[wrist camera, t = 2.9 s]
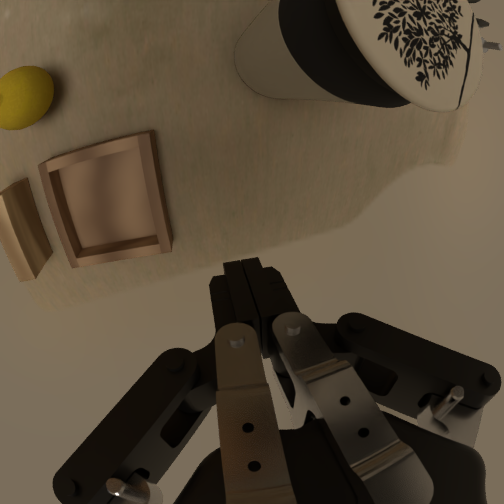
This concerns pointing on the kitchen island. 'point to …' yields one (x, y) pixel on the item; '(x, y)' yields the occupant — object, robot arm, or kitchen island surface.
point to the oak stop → (22, 231)
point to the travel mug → (364, 52)
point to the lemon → (24, 97)
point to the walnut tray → (108, 200)
